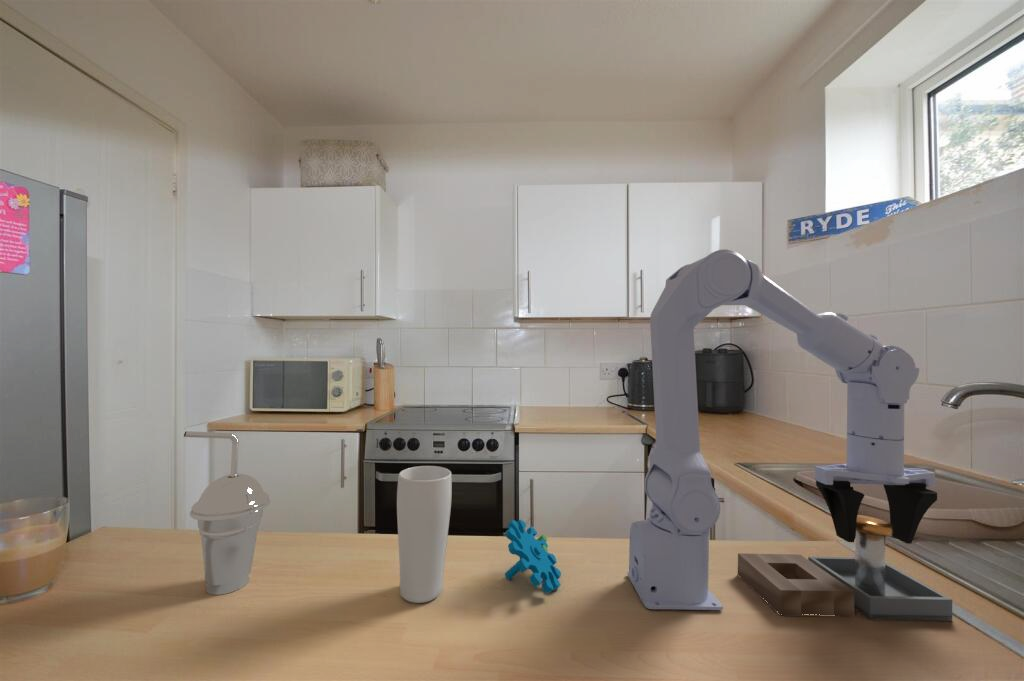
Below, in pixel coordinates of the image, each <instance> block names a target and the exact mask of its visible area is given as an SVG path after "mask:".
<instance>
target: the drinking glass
mask: <svg viewBox="0 0 1024 681" xmlns="http://www.w3.org/2000/svg"><path fill="white" fill-rule="evenodd" d="M452 476H453V475H452V471H451V470H450V469H448V468H446V467H443V466H438V465H437V466H436V465H420V466H419V465H418V466H412V467H408V468H405V469H403V470H401V471H400V472H399V473H398V478H397V479H398V480H397V488H396V489H397V490H396V517H397V518H396V519H397V520H396V521H397V540H398V557H399V561H398V563H399V593H400V596H401V597H402V599H404V600H405V601H407V602H410V603H412V604H423V603H427V602H431V601H434V600H435V599H436V598H437V597H439V596H440V594H441V593H442V592H443V588H444V572H445V562H446V554H447V544H448V537H449V528H450V518H451V512H452V511H451V508H452V498H453V497H452V495H453V494H452V490H453V487H452V486H453V481H452V480H453V479H452V478H453V477H452Z"/></svg>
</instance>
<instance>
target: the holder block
mask: <svg viewBox="0 0 1024 681" xmlns="http://www.w3.org/2000/svg"><path fill="white" fill-rule="evenodd" d="M738 575H739V576H740V577H741V578H742V579H741V578H740V577H739V576H738ZM737 576H738V577H739V578H740V579H741V580H742V581H743V582H744V583H746V585H747V586H749V587H750V589H752V588H753V589H754V590H755V591H756V592H757V593H758V594H759V595H760V596H761V597H762V598H764V600H763V601H765V600H766V601H767V602H768V603H767V602H766V601H765V602H766V603H767V604H768V605H769V604H770V605H771V606H772V607H773V608H774V609H775V610H776V611H778V613H779V614H780V615H781V614H782V615H802V614H803V615H804V614H809V615H810V614H814V615H815V614H817V615H819V614H820V615H835V616H834V617H837V616H847V618H848V617H849V616H850V617H849V618H851V617H852V618H853V617H855V608H854V591H853V590H852V589H850V588H849V587H847V586H846V585H844V584H843V583H841V582H840V581H838V580H837V579H835V578H834V577H833V576H831V575H830V574H828V573H827V572H825V571H824V570H822V569H821V568H819V567H818V566H816V565H815V564H814V563H812V562H811V561H809V560H808V558H806V557H805V556H803V555H802V554H793V553H792V554H786V553H785V554H784V553H782V554H781V553H737ZM753 589H752V590H753ZM754 590H753V591H754ZM755 591H754V592H755ZM756 592H755V593H756ZM757 593H756V594H757ZM758 594H757V595H758ZM759 595H758V596H759ZM760 596H759V597H760ZM761 597H760V598H761ZM762 598H761V599H762ZM770 605H769V606H770ZM771 606H770V607H771ZM772 607H771V608H772ZM773 608H772V609H773ZM774 609H773V610H774ZM775 610H774V611H775ZM776 611H775V612H776ZM778 613H777V614H778ZM779 614H778V615H779ZM780 615H779V616H780Z"/></svg>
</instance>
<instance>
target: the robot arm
mask: <svg viewBox="0 0 1024 681" xmlns="http://www.w3.org/2000/svg"><path fill="white" fill-rule="evenodd" d="M722 306H745V307H748V308H749V309H752V310H753V311H755V312H756V313H759V314H760V315H763V316H764V317H766V318H768V319H770V320H771V321H773V322H775V323H776V324H779V325H780V326H782V327H785V328H786V329H787V330H789V331H791V332H792V333H794V334H796V339H797V345H798V346H799V347H800V348H802V349H803V350H804V351H806V352H807V353H809V354H811V355H812V356H814V357H816V359H819V360H821V361H822V362H824V363H825V364H827V365H829V366H830V367H831V368H833V369H834V370H835V374H836V376H837V378H838V380H840V382H841V383H842V384H846V385H847V388H846V390H847V391H846V392H847V394H846V395H847V396H846V410H847V411H846V461H845V462H846V463H839V464H838V463H837V464H830V465H829V464H827V465H815V466H814V481H815V485H816V487H817V489H818V490H819V492H820V493H821V496H822V497H823V499H824V500H825V503H826V505H827V508H828V510H829V514H830V516H831V519H832V522H833V527H834V530H835V535H836V537H838V538H840V539H842V540H844V541H846V542H847V543H855V537H856V522H857V515H859V509H860V507H861V505H862V504H861V503H862V502H863V500H864V498H865V494H864V493H862V492H860V491H858V490H856V489H854V487H853V486H851V485H852V484H853V485H883V489H884V490H885V494H886V499H887V503H888V508H889V523H890V524H891V525H892V526H893V535H892V536H891V537H893V538H894V539H897V540H898V541H901V542H902V543H905V544H908V545H911V544H912V543H913V541H914V538H915V536H916V532H917V530H918V528H919V525H920V523H921V520H922V519H923V517H924V516H925V514H926V512H928V510H929V509H930V507H931V506H932V505H933V504H935V502H937V501H938V492H937V491H935V490H932V489H929V488H936V473H935V472H933V471H931V470H926V469H922V468H911V467H905V404H907V402H908V401H909V400H910V392H911V391H910V390H911V388H912V386H913V385H914V384H915V383H916V381H917V380H918V378H919V373H920V368H919V367H916V363H915V361H914V359H913V356H911V354H910V353H909V352H907V351H905V349H903V348H901V347H899V346H897V345H883V344H882V343H881V342H880V341H879V340H878V338H877V336H876V335H874V334H872V333H871V334H870V333H868V334H867V333H866V332H865V331H862V330H861V329H859V328H858V327H856V326H855V325H853V324H852V323H850V322H848V319H849V317H848V316H847V315H845V314H843V313H842V312H838V313H834V312H832V311H831V312H830V311H826V312H821V313H816V312H815V310H812V309H811V308H809V307H808V306H807V305H805V304H804V303H803V302H801V301H800V300H799V299H797V298H796V297H794V296H793V295H792V294H790V293H789V292H788V291H786V290H785V289H784V288H782V287H781V286H780V285H778V284H777V283H775V282H774V281H773V280H772V279H770V278H768V277H767V276H766V275H764V273H763V272H762V270H761V269H760V267H759V265H758V264H757V263H756V262H754V261H752V260H749V259H746V258H745V257H744V256H743V255H742V254H740V253H739V252H737V251H735V250H732V249H719V250H718V249H717V250H715V251H713V252H711V253H710V254H708V255H707V256H705V257H703V258H700V259H698V260H696V261H694V262H692V263H690V264H685V265H684V266H681V267H680V268H679V269H677V270H676V271H675V272H674V273H672V274H671V275H670V276H669V277H668V278H666V280H665V286H664V288H663V290H662V292H661V294H660V296H659V298H658V299H657V302H656V303H655V305H654V307H653V309H652V311H651V313H650V316H649V325H650V326H649V327H650V328H649V329H650V345H651V361H652V364H651V366H652V383H653V385H652V386H653V403H654V404H653V406H654V424H655V426H654V428H655V443H656V446H655V448H654V449H653V451H652V452H651V453H650V455H649V466H648V467H649V468H648V471H647V473H646V476H645V477H644V478H645V479H644V483H643V484H644V486H643V487H644V492H645V495H646V496H647V498H648V499H649V501H650V502H651V508H650V511H649V517H648V518H646V519H644V520H638V521H632V523H631V525H630V529H629V550H628V551H629V553H628V554H629V558H628V562H629V563H628V570H627V572H626V573H627V574H626V575H627V576H628V579H629V580H630V582H631V584H632V586H633V587H634V590H635V591H636V593H637V595H638V597H639V599H640V600H641V602H642V604H643V605H644V607H645V608H646V609H648V610H680V611H681V610H682V611H683V610H684V611H685V610H687V611H688V610H690V611H691V610H692V611H693V610H694V611H695V610H697V611H700V610H701V611H722V610H723V609H724V607H723V604H722V602H721V601H719V600H718V598H717V597H716V596H715V595H714V593H713V592H712V591H711V590H710V589H709V569H710V568H709V567H710V566H709V562H710V561H709V560H710V557H709V556H710V549H709V548H710V530H711V529H712V528H713V527H714V526H715V524H717V521H718V519H720V518H719V517H720V515H721V503H720V499H719V497H718V496H719V495H718V494H717V492H716V491H715V490H714V487H713V485H712V476H711V475H712V474H711V471H710V469H709V466H708V464H707V462H706V460H705V458H704V456H703V453H702V451H701V442H700V441H701V440H700V423H699V408H698V406H699V404H698V402H699V401H698V386H697V384H698V383H697V370H696V369H697V368H696V348H695V327H696V326H697V325H698V324H700V322H701V321H703V320H704V319H705V318H706V317H707V316H708V315H709V314H711V313H712V312H713V311H714V310H715V309H717V308H719V307H722Z"/></svg>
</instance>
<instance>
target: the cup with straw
mask: <svg viewBox="0 0 1024 681" xmlns="http://www.w3.org/2000/svg"><path fill="white" fill-rule="evenodd" d="M183 438H199V439H201V438H202V439H229V440H230V441H231V442H232V443H231V460H230V464H231V466H230V474H227V475H224V476H221V477H218V478H217V479H215V480H213V482H211V483H209V485H208V486H207V487H206V488H205V489H204V490H203V492H202V493H201V495H200V497H199V499H198V501H197V502H195V503H194V504H193V505H192V506H191V509H190V512H189V516H190V518H191V519H193V520H197V528H198V531H199V532H198V533H199V536H201V547H202V549H201V550H202V561H203V571H204V581H205V584H206V588H205V591H206V593H207V594H208V595H209V594H210V595H214V596H216V595H217V596H219V595H220V596H221V595H226V594H230V593H233V592H237V591H239V590H240V589H243V588H244V587H245V586H247V585H248V583H249V582H250V574H251V572H252V567H253V560H254V554H255V548H256V541H257V536H258V530H259V527H260V526H259V525H260V524H261V520H262V518H263V513H264V509H266V508H268V506H270V504H271V500H270V495H269V494H268V493H267V492H266V491H265V492H264V489H263V487H262V485H261V483H260V482H259V481H258V480H257V479H256V478H255V477H252V476H251V475H248V474H244V473H238V467H239V465H238V463H239V462H238V461H239V438H238V436H237V435H236V434H234V433H231V432H212V431H211V432H210V431H188V430H186V431H185V432H184V433H183Z"/></svg>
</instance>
